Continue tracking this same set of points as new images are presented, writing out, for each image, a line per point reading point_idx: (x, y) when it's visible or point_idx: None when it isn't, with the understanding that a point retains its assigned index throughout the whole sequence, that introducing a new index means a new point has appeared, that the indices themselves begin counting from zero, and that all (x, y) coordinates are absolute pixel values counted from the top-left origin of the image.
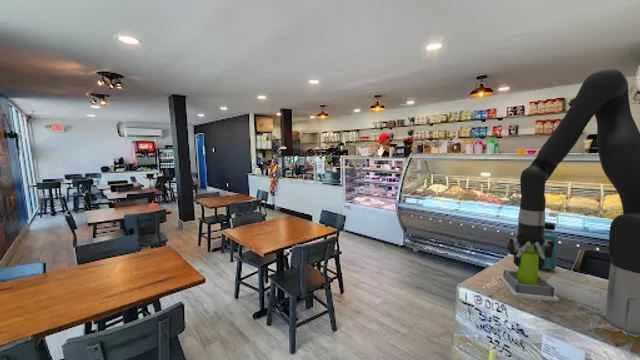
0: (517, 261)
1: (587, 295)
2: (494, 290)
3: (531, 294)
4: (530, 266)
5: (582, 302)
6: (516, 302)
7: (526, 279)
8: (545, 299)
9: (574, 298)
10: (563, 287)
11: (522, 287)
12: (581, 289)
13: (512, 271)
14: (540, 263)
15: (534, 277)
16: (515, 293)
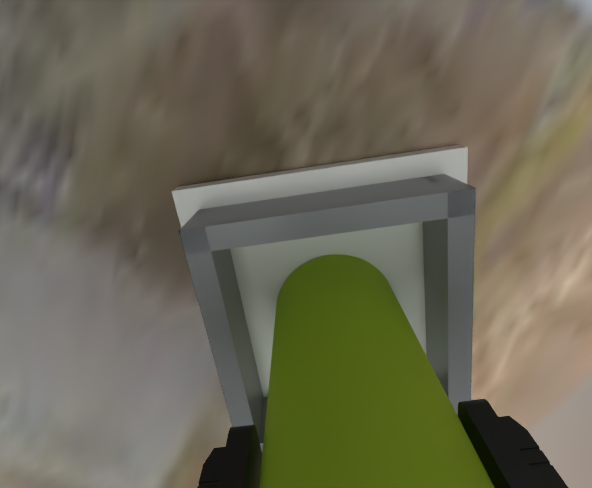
0: (520, 458)
1: (3, 339)
2: (564, 197)
3: (340, 188)
4: (375, 389)
5: (41, 233)
6: (474, 49)
7: (370, 295)
8: (255, 176)
9: (77, 272)
10: (111, 393)
11: (420, 190)
12: (23, 401)
13: None
14: (238, 482)
15: (309, 316)
16: (455, 159)
